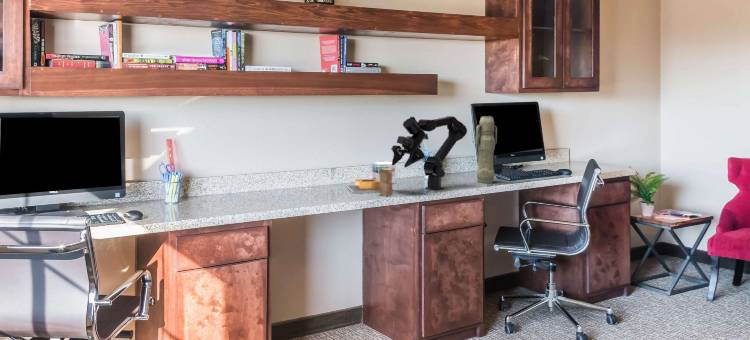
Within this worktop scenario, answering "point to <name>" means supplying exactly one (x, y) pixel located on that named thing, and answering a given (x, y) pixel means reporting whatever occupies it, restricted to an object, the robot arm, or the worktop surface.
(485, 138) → the stone statue
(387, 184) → the tan square block
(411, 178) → the worktop surface
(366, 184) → the square socket
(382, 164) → the light bulb box
